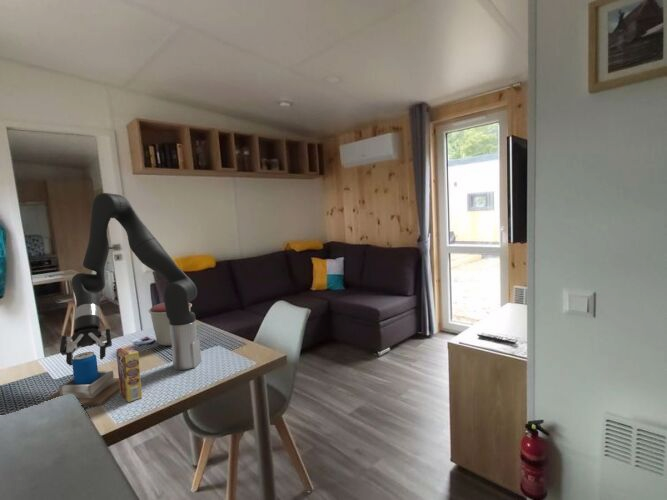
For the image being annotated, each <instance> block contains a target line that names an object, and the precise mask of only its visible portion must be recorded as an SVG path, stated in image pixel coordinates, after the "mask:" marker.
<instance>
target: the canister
mask: <svg viewBox="0 0 667 500" xmlns="http://www.w3.org/2000/svg"><path fill="white" fill-rule="evenodd" d="M188 305H189V310H190V311H191V308H192V306H193V304H192V303H190V302H188ZM148 313H149V314H150V317H151V322H152V327H153V330H154V334H155V339H156V341H157V343H158V345H161V346H166V347H167V346H171V335H170V323H169V319H168V318H167V315H166V309H165V303H164V302H161V303H158V304H155V305H153V306H152V307H151V308H150V307H149V309H148Z"/></svg>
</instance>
